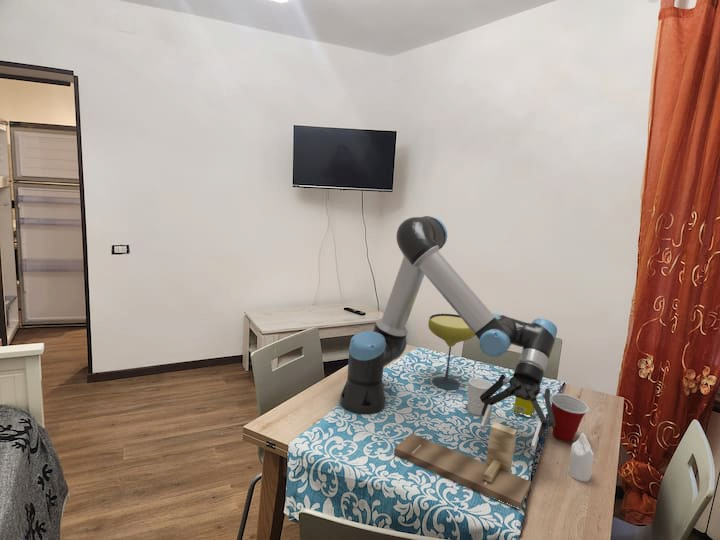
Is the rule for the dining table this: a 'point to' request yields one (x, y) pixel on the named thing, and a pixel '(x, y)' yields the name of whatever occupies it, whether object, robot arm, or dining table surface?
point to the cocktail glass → (449, 341)
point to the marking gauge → (500, 450)
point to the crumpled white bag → (581, 459)
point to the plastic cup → (567, 416)
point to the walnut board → (463, 469)
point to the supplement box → (524, 406)
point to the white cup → (476, 395)
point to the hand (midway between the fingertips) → (506, 437)
